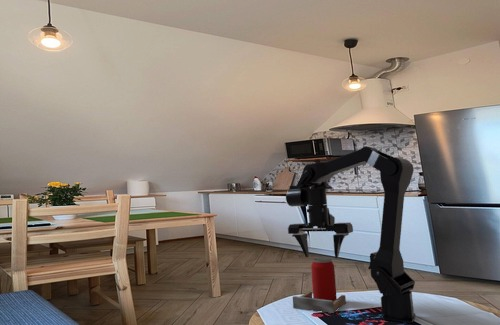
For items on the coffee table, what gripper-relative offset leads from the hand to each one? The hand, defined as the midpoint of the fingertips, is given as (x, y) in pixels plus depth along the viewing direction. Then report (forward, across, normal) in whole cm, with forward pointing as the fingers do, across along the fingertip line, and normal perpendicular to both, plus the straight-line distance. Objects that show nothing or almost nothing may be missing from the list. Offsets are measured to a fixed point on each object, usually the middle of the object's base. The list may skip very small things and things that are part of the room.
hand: (321, 257), depth 98 cm
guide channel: (+13, 0, +4) cm, 13 cm away
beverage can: (+13, 0, 0) cm, 13 cm away
